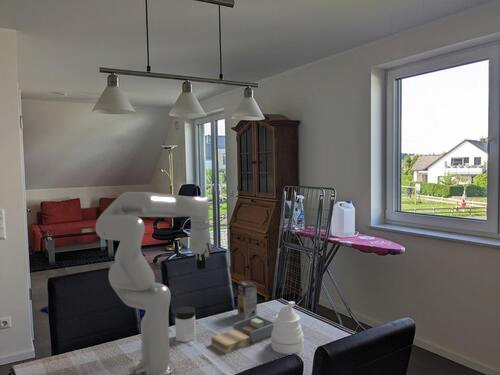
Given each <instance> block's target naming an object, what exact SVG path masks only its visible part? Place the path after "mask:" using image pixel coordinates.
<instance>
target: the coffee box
mask: <svg viewBox="0 0 500 375" xmlns="http://www.w3.org/2000/svg"><path fill="white" fill-rule="evenodd" d="M236 284H237V285H236V287H237V288H236V289H237V293H236V294H237V315H239V316H240V317H241V319H242V320H245V319H248V318H251V317H254V316H256V315H258V314H257V310H258V308H257V307H258V305H257V301H258V300H257V298H258V297H257V296H258V295H257V294H258V292H257V284H255V283H254V282H252V281H251V280H249V279H247V280H239V281H237V282H236Z"/></svg>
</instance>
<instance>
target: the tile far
mask: <svg viewBox="0 0 500 375" xmlns="http://www.w3.org/2000/svg"><path fill="white" fill-rule="evenodd" d="M251 325H253V326H255V327H257V328H262V327H264V321H262V320H259V319H257V318H255V319H252V320H251Z"/></svg>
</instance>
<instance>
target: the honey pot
mask: <svg viewBox="0 0 500 375" xmlns="http://www.w3.org/2000/svg"><path fill="white" fill-rule="evenodd" d="M295 305H296V302H295V301H292V300H290V301H288V304H285V305H283V306H282V307H281V308H280V310H279V312H278V314H276V315H275V317H274V320H275V321H274V322H275V324H274V327H273V331H272V333H271V337H270V342H271V343H270V347H271V349H272V350H273V351H275V352H277V353H279V354H284V355H293V353H294V354H298V353H300V352H302V351H303V350H304V343H305V342H304V336H305V335H304V332H303V328H302V326H301V323H300V321H301V317H300V316H301V315H299V314H297V313H296V312H295V310H294V309H293V308H294V306H295Z"/></svg>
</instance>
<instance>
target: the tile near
mask: <svg viewBox="0 0 500 375" xmlns="http://www.w3.org/2000/svg"><path fill="white" fill-rule="evenodd" d="M257 329H259V328H257V327H255V326H253V325H248V326H245V327H243V328H242V333H243V334H246V335H248V336H250V332H252V331H254V330H257Z"/></svg>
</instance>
